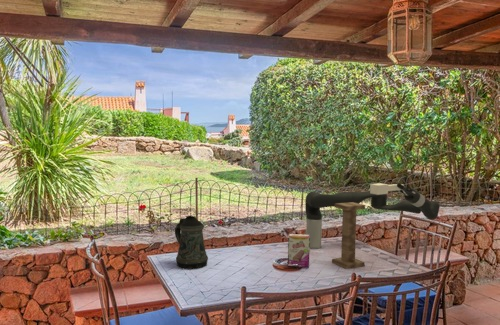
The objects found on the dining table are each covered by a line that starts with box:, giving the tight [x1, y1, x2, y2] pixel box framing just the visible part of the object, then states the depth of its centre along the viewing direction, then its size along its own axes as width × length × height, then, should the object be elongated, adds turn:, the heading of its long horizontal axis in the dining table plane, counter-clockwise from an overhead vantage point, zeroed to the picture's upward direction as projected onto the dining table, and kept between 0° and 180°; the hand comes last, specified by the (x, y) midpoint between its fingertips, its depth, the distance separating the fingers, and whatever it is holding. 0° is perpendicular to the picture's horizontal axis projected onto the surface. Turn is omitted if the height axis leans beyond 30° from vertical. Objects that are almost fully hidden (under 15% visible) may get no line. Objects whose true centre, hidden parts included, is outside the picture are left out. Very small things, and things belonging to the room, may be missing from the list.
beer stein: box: [174, 215, 209, 270], centre depth 231 cm, size 16×19×25 cm
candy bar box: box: [287, 233, 311, 269], centre depth 230 cm, size 11×5×16 cm, turn 84°
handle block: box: [369, 182, 405, 195], centre depth 244 cm, size 20×6×5 cm, turn 116°
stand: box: [331, 202, 366, 270], centre depth 234 cm, size 12×12×32 cm
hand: (395, 184), depth 246 cm, fingers closed on handle block, 2 cm apart
